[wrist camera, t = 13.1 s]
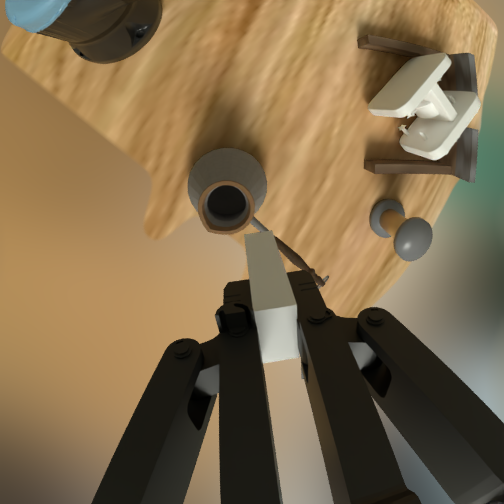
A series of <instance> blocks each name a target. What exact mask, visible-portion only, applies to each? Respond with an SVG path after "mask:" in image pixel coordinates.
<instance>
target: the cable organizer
mask: <svg viewBox="0 0 504 504" xmlns="http://www.w3.org/2000/svg"><path fill="white" fill-rule="evenodd" d="M450 65H451V60H450V59H449V57H448V56H447V55H446V53H437V54H431V55H425V56H419V57H414V58H412V59H410V60H409V61H407V62H406V63H405V64H404V65H403V66H402V67H401V68H400V69H399V70H398V72H397V73H396V74H395V75H394V76H393V77H392V78H391V79H390V80H389V81H388V83H387V84H386V85H385V86H384V87H383V88H382V89H381V90H380V91H379V93H378V94H377V95H376V96H375V97H374V98H373V99H372V100H371V102H370V103H369V105H368V110H369V111H370V112H371V113H372V114H373V115H376V116H387V117H398V118H402V117H405V116H408V117H407V119H408V118H409V117H411V116H415V114H416V115H417V116H418V117H417V118H416V119H415V121H414V122H413V123H412V124H411V125H410V127H409V128H408V129H407V130H406V128H405V126H406V125H403V124H402V125H401V127H398V128H399V131H400V130H402V131H403V132H404V134H403V135H402V136H401V138H400V141H399V143H400V145H401V146H402V147H403V149H404V150H405V151H406V152H410V153H413V154H416V155H419V156H422V157H425V158H428V159H431V160H438V159H440V158H442V157H443V156H444V155H445V154H446V155H447V154H448V152H449V150H450V148H451V147H452V146H453V145H454V143H455V142H457V139H458V138H460V135H461V134H462V132H463V131H464V130H465V128H466V127H467V125H468V124H469V123H470V122H471V120H472V118H473V117H474V116H475V114H476V113H477V112H478V110H479V108H480V106H481V102H480V100H479V98H478V96H477V95H476V93H475V92H468V91H442V90H441V88H440V87H439V86H438V84H437V82H438V81H442V80H441V78H442V76H443V74H444V73H445V72H446V71H447V69H448V68H449V67H450Z"/></svg>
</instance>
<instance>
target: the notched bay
mask: <svg viewBox="0 0 504 504" xmlns="http://www.w3.org/2000/svg"><path fill="white" fill-rule="evenodd" d="M357 41H358V48H362V49H370V50H376V51H382V52H388V53H393V54H399V55H403V56H408V57H413V58H414V57H419V56H425V55H431V54H437V53H443V52H440V51H437V50H433V49H430V48H426V47H423V46H419V45H415V44H411V43H407V42H403V41H399V40H394V39H389V38H384V37H379V36H373V35H366V36H364V37H362V38H360V39H358V40H357ZM446 55H447V56H448V57H449V59H450V60H451V65H450V67H449V68H448V69H447V71H446V72H445V73H444V74H443V76H442V78H441V80H442V81H439V87H440V88H441V90H442V91H468V92H475V93H476V95H477V96H478V93H477V78H476V67H475V59H474V55H472V54H470V53H460V54H451V55H449V54H446ZM477 146H478V130H476V129H472V128H467V127H466V128H465V130H464V131H463V132H462V134H461V135H460V138H458V139H457V142H455V143H454V145H453V146H452V147H451V148H450V150H449V152H448V154H447V155H446V154H445V155H444V156H443V157H442V158H440V159H439V162H436V161H415V160H364V169H366V170H368V171H370V172H372V173H374V174H448V175H454V176H456V177H458V178H461V179H463V180H465V181H467V182H475V174H476V164H477V149H478V148H477Z"/></svg>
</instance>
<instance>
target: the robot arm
mask: <svg viewBox="0 0 504 504" xmlns="http://www.w3.org/2000/svg"><path fill="white" fill-rule="evenodd" d="M5 8H6V9H5V10H6V14H7V17H8V19H9V20H10V22H12V23H13V24H14V25H16V26H18V27H21V28H24V29H25V30H26V31H29V32H32V33H38V34H42V35H46V36H50V37H53V38H57V39H60V40H64V41H67V42H69V44H70V45H71V47H72V49H73V50H74V51H75V53H76V54H77V55H79V56H80V57H81V58H83V59H85V60H88V61H91V62H94V63H100V64H108V63H114V62H118V61H121V60H123V59H126V58H128V57H130V56H131V55H133V54H135V53H136V52H137V51H139V50H140V49H141V48H142V47H143V46H145V45H146V44H147V43H148V41H149V40H150V39H151V38H152V36H153V35H154V34H155V32H156V30H157V28H158V26H159V24H160V21H161V16H162V5H161V1H160V0H6V3H5ZM244 237H245V246H246V255H247V263H248V272H249V279H248V280H241V281H234V282H229V283H228V284H227V285H226V287H225V288H224V299H223V303H224V304H223V306H221V307H220V308H219V309H218V310H217V311H216V314H215V318H216V321H217V325H218V328H219V332H220V333H219V334H218V335H217V336H216V337H215V338H213V339H211V340H209V341H207V342H204V343H201V344H199V343H198V342H197V341H196V340H194V339H189V338H186V339H179V340H176V341H174V342H173V343H171V344H170V345H169V346H168V347H167V349H166V350H165V352H164V354H163V356H162V358H161V360H160V362H159V364H158V366H157V368H156V370H155V372H154V373H153V375H152V378H151V379H150V382H149V383H148V385H147V388H146V389H145V391H144V393H143V395H142V397H141V399H140V401H139V403H138V405H137V407H136V409H135V411H134V413H133V416H132V418H131V420H130V422H129V424H128V426H127V428H126V430H125V432H124V434H123V436H122V438H121V440H120V443H119V445H118V447H117V449H116V451H115V453H114V455H113V457H112V459H111V462H110V464H109V466H108V468H107V470H106V472H105V475H104V477H103V479H102V481H101V483H100V486H99V488H98V490H97V492H96V494H95V497H94V499H93V501H92V503H91V504H183V502H184V499H185V496H186V493H187V490H188V487H189V484H190V480H191V477H192V474H193V471H194V468H195V465H196V461H197V458H198V455H199V452H200V449H201V445H202V442H203V439H204V436H205V433H206V430H207V426H208V423H209V420H210V416H211V413H212V410H213V407H214V404H215V400H216V397H217V393H219V450H220V452H219V453H220V494H221V504H283V501H282V494H281V487H280V480H279V473H278V466H277V459H276V452H275V446H274V438H273V431H272V424H271V417H270V410H269V402H268V395H267V388H266V381H265V374H264V368H263V363H269V362H275V361H281V360H287V359H293V358H298V357H299V353H300V357H301V371H302V379H304V380H305V384H306V388H307V392H308V395H309V400H310V404H311V408H312V412H313V416H314V420H315V424H316V429H317V432H318V437H319V441H320V445H321V450H322V454H323V458H324V462H325V467H326V471H327V475H328V480H329V484H330V488H331V493H332V497H333V501H334V504H421V502H420V500H419V498H418V496H417V495H416V494H415V493H414V492H412V491H410V490H409V489H407V487H406V485H405V483H404V480H403V478H402V475H401V472H400V469H399V466H398V463H397V461H396V458H395V455H394V453H393V450H392V447H391V445H390V442H389V440H388V437H387V434H386V432H385V429H384V427H383V424H382V421H381V419H380V416H379V414H378V412H377V409H376V407H375V405H374V402H373V399H374V400H375V401H376V402H377V404H378V405H379V406H380V408H381V409H382V410H383V411H384V413H385V414H386V415H387V416H388V418H389V419H390V420H391V422H392V423H393V424H394V426H395V427H396V428H397V429H398V431H399V432H400V433H401V434H402V436H403V437H404V439H405V440H406V441H407V442H408V444H409V445H410V446H411V448H412V449H413V450H414V451H415V453H416V454H417V455H418V456H419V458H420V459H421V460H422V462H423V463H424V464H425V466H426V467H427V468H428V470H429V471H430V472H431V474H432V475H433V476H434V477H435V479H436V480H437V481H438V483H439V484H440V485H441V487H442V488H443V489H444V490H445V492H446V493H447V494H448V496H449V497H450V498H451V500H452V501H453V502H454V503H455V504H504V423H503V422H502V421H501V420H500V419H499V418H498V417H497V416H496V415H495V414H494V413H493V412H492V410H491V409H490V408H489V407H488V406H487V405H486V404H485V403H484V402H483V401H482V400H481V399H480V398H479V397H478V396H477V395H476V394H475V393H474V392H473V391H472V390H471V389H470V388H469V387H468V386H467V385H466V384H465V383H464V382H463V381H462V380H461V379H460V378H459V377H458V376H457V375H456V374H455V373H453V371H452V370H451V369H450V368H448V367H447V365H445V364H444V363H443V362H442V361H441V360H440V359H439V358H438V357H437V356H436V355H435V354H434V353H433V352H432V351H431V350H430V349H429V348H428V347H426V346H425V345H424V344H423V343H422V342H421V341H420V340H419V339H418V338H417V337H416V336H415V335H414V334H412V333H411V332H410V331H409V330H408V329H407V328H406V327H405V326H404V325H403V324H402V323H400V322H399V321H398V320H397V319H396V318H395V317H394V316H393V315H392V314H390V313H389V312H388V311H386V310H385V309H382V308H378V307H370V308H366V309H364V310H363V311H361V312H360V313H359V315H358V318H344V317H339V316H336V315H335V313H334V312H333V311H332V310H331V309H329V308H327V307H326V305H325V302H324V300H323V298H322V296H321V294H320V291H319V289H318V288H317V285H316V283H315V281H314V279H313V276H312V275H311V274H310V273H308V272H307V271H306V270H301V271H294V272H288V273H286V270H285V267H284V264H283V261H282V258H281V255H280V253H279V250H278V247H277V244H276V241H275V238H274V235H273V232H272V230H271V231H265V232H258V233H251V234H245V235H244ZM371 396H372V397H373V399H372V397H371Z"/></svg>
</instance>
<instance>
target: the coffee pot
mask: <svg viewBox="0 0 504 504" xmlns="http://www.w3.org/2000/svg"><path fill="white" fill-rule="evenodd" d="M266 193H267V180H266V176H265V172H264V170H263V168H262V167H261V165H260V163H259V162H258V161H257V160H256V159H255V158H254V157H253V156H252V155H250V154H248V153H246V152H245V151H242V150H239V149H235V148H220V149H216V150H213V151H210V152H209V153H207V154H205V155H204V156H202V157H201V158H200V159H199V160H198V161H197V162H196V163H195V165H194V166H193V168H192V170H191V172H190V175H189V179H188V194H189V197H190V200H191V203H192V205H193V206H194V208H195V209H196V211H197V212H198V214H199V217H200V219H201V221H202V223H203V225H204V227H205V228H206V230H207V231H208V232H212V233H215V234H234V233H237V232H239V231H241V230H243V229H244V228H245V227H246V226H248V225H249V223H251V224H252V225H253V226H254V227H255V228H257V229H258V230H259V231H260V232H265V231H269V230H268V229H267V228H266V227H265V226H263V225H262V224H261V223H260V222H259V221H258V220H257V219H256V218H255V217H254V214H255V213H256V212H257V211H258V210H259V208H260V207H261V205H262V203H263V202H264V199H265V196H266ZM274 238H275V241H276V244H277V247H278V249H279V250H280V251H281V252H282V253H283V254H284V255H285V256H286V257H287V258H288V259H289V260H290V261H291V262H292V263H293V264H294V265H296V266H297V267H299V268H300V269H302V270H306V271H307V272H308V273H310V274H311V275H312V276H313V279H314V280H315V282H316V283H317V284H318V285H317V288H318V289H319V288H320V287H321V286H322V287H323V286H324V285H325V282H326V281H327V280H328V278H329V276H326V277H325V278H324V279H323V280H322V278H321V277H320V276H317V275H316V274H315V270H314V269H312V268H309V266H308V265H307V264H306V263H305V262H304V260H303V259H302V258H301V257H300V256H299V255H298V254H297V253H296V252H294V251H293V250H292V249H291V248H289V247H288V246H287V245H286V244H285V243H283V242H282V241H281V240H280V239H278V238H277V237H275V236H274ZM326 278H327V279H326ZM325 279H326V280H325ZM324 280H325V281H324ZM319 285H320V286H319ZM318 286H319V287H318Z"/></svg>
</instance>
